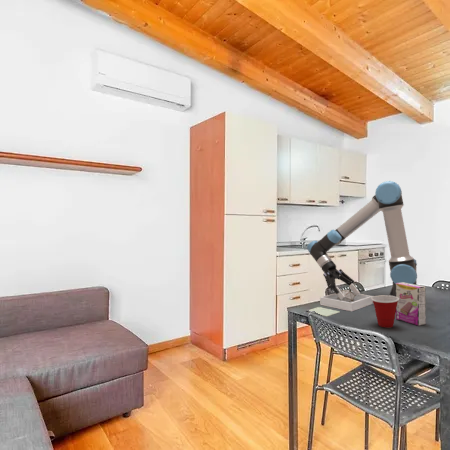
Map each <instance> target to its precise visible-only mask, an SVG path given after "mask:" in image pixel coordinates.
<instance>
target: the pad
mask: <svg viewBox="0 0 450 450" xmlns="http://www.w3.org/2000/svg"><path fill="white" fill-rule="evenodd" d="M308 310H309V311H315V312H316V313H318V314H320V315H319V316H321V315H322V317H331V316H333V315H336V314H339V313H341V312H340V311H339V310H334V309H330V308H325V307H321V306H317V307H314V308H311V309H308Z"/></svg>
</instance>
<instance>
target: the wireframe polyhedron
mask: <svg viewBox="0 0 450 450" xmlns="http://www.w3.org/2000/svg"><path fill="white" fill-rule="evenodd" d="M340 291H341V292H342V293H343V295H344V296H345V297H344V298H343V299H342V300H341V299H340V298H338V299H340V301H345V302H350V303H351V302H354V301H353V299H354V297H355V296H356V295H354V294H353V291H352V290H350V288H348V289H340Z"/></svg>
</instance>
